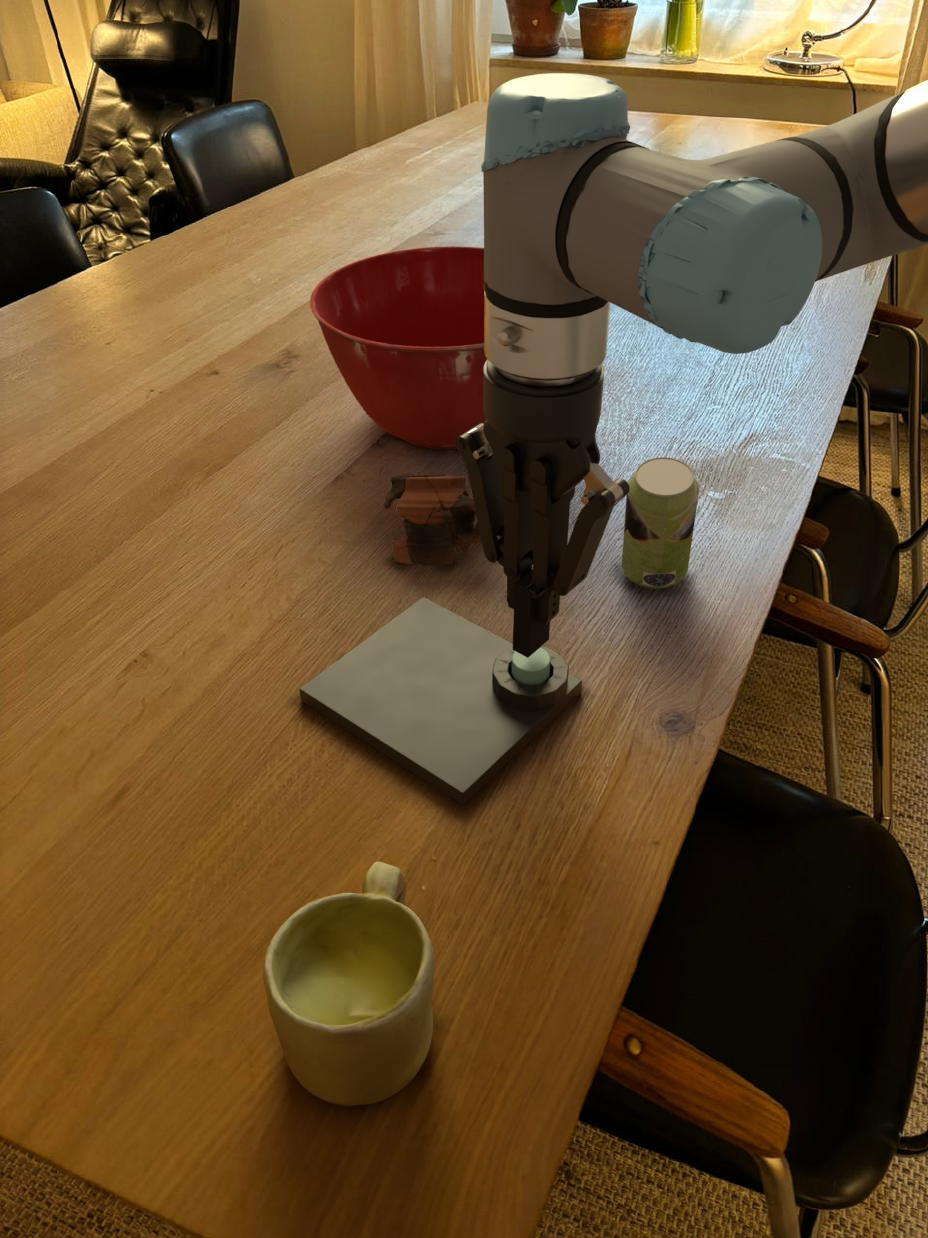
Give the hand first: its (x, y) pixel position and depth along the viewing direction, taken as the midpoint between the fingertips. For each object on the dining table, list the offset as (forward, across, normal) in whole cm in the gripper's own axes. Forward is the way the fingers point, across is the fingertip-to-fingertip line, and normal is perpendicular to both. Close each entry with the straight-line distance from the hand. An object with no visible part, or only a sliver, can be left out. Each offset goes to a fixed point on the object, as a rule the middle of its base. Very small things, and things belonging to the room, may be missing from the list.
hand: (530, 644), depth 76 cm
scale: (+6, -5, -4) cm, 9 cm away
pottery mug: (+6, -19, +12) cm, 23 cm away
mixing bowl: (+6, -34, +30) cm, 46 cm away
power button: (+3, 0, 0) cm, 3 cm away
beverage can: (+6, 0, +20) cm, 20 cm away
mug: (+6, +9, -28) cm, 29 cm away
